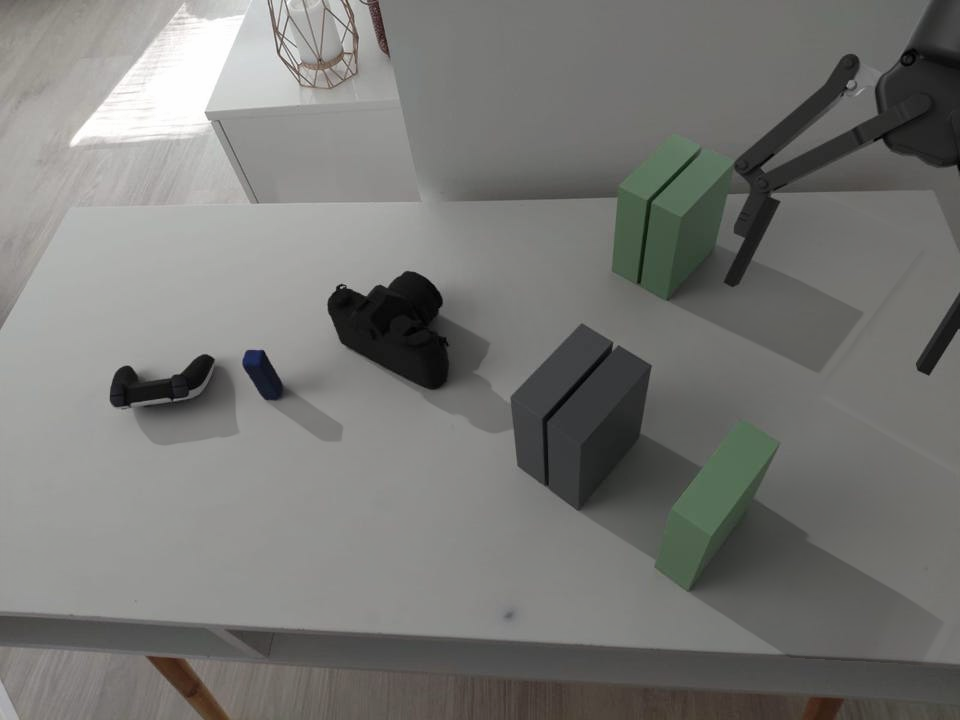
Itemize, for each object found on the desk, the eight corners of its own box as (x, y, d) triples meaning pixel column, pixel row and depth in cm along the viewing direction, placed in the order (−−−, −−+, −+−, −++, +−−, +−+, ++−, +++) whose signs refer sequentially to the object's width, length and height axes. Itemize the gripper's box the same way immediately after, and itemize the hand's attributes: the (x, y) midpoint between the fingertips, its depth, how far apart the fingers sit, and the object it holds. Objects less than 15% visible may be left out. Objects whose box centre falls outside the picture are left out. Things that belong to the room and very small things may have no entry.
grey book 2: (639, 438, 75) (652, 365, 65) (577, 511, 72) (580, 445, 61) (610, 419, 77) (618, 344, 66) (548, 489, 73) (546, 422, 62)
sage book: (747, 509, 70) (781, 442, 59) (687, 591, 66) (711, 536, 56) (714, 487, 72) (741, 418, 61) (653, 567, 68) (671, 508, 57)
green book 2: (714, 247, 88) (735, 161, 78) (666, 300, 85) (681, 217, 74) (688, 234, 90) (706, 147, 79) (640, 286, 86) (651, 202, 76)
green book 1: (685, 233, 90) (701, 146, 80) (636, 284, 86) (647, 200, 76) (660, 220, 92) (673, 133, 81) (611, 270, 88) (618, 186, 77)
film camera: (485, 337, 84) (478, 284, 77) (434, 400, 80) (422, 351, 73) (380, 284, 90) (364, 231, 82) (327, 341, 86) (305, 290, 78)
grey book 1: (606, 416, 77) (613, 341, 66) (544, 486, 73) (542, 419, 63) (578, 398, 79) (581, 322, 68) (517, 466, 75) (509, 396, 64)
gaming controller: (130, 403, 86) (101, 419, 79) (120, 365, 85) (90, 378, 78) (223, 388, 86) (202, 404, 79) (215, 350, 85) (193, 362, 78)
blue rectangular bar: (281, 400, 82) (260, 365, 76) (261, 400, 82) (239, 364, 76) (285, 384, 83) (265, 347, 77) (266, 384, 83) (244, 347, 78)
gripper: (1214, 87, 44) (1004, 398, 52) (802, -31, 53) (672, 249, 60) (1272, 65, 38) (1022, 424, 45) (791, -66, 46) (647, 254, 54)
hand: (822, 325), depth 53 cm, fingers open, 13 cm apart
